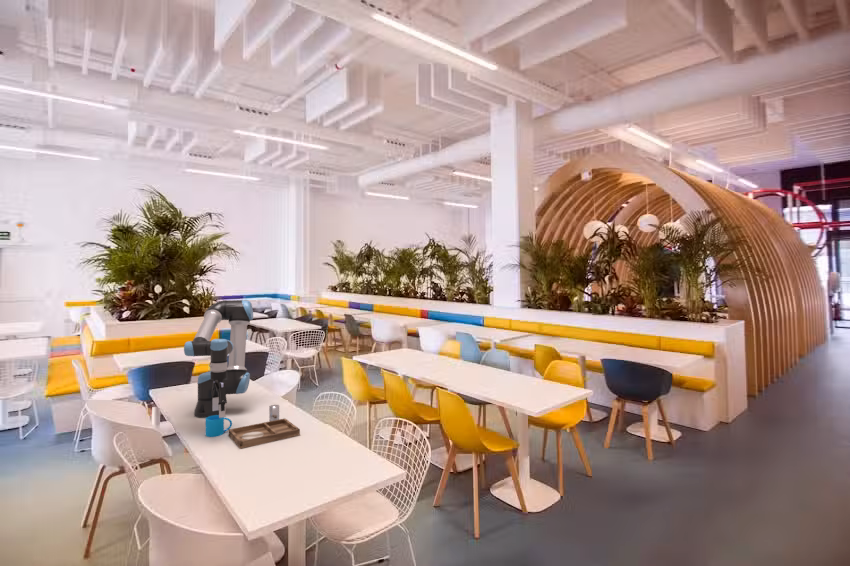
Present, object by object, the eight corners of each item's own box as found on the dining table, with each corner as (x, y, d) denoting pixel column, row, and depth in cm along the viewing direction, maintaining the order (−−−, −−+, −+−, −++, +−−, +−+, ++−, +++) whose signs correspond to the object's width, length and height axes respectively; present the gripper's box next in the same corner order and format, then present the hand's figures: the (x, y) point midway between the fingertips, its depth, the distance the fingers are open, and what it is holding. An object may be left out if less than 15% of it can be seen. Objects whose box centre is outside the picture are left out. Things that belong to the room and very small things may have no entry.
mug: (206, 438, 211) (206, 421, 211) (205, 432, 218) (205, 416, 218) (233, 434, 217) (233, 417, 217) (231, 428, 224) (231, 412, 224)
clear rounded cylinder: (268, 422, 234) (268, 405, 233) (277, 420, 237) (277, 404, 237) (271, 425, 230) (271, 408, 230) (280, 423, 233) (280, 406, 233)
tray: (228, 435, 215) (228, 429, 215) (285, 423, 232) (285, 418, 232) (240, 448, 199) (240, 442, 199) (299, 435, 216) (299, 429, 216)
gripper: (205, 367, 224) (204, 409, 224) (216, 376, 205) (216, 421, 205) (220, 365, 229) (220, 406, 229) (233, 374, 209) (233, 418, 209)
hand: (218, 413), depth 217 cm, fingers open, 13 cm apart
